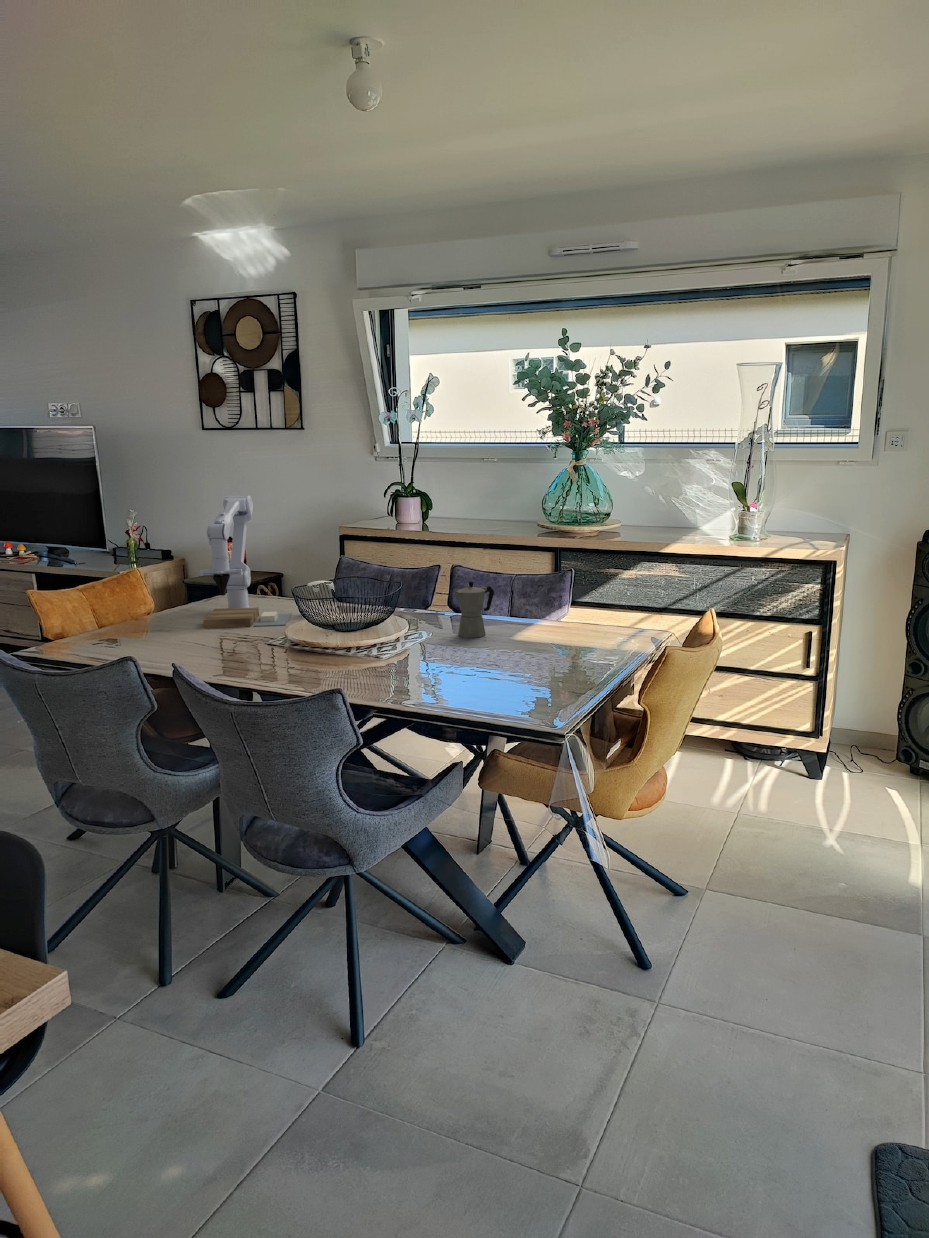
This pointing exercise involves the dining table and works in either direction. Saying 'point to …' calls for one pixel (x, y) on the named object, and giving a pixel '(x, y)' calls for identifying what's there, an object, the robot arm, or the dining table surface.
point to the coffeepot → (473, 610)
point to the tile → (269, 616)
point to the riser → (231, 617)
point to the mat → (279, 621)
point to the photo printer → (319, 583)
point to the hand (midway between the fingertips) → (223, 595)
